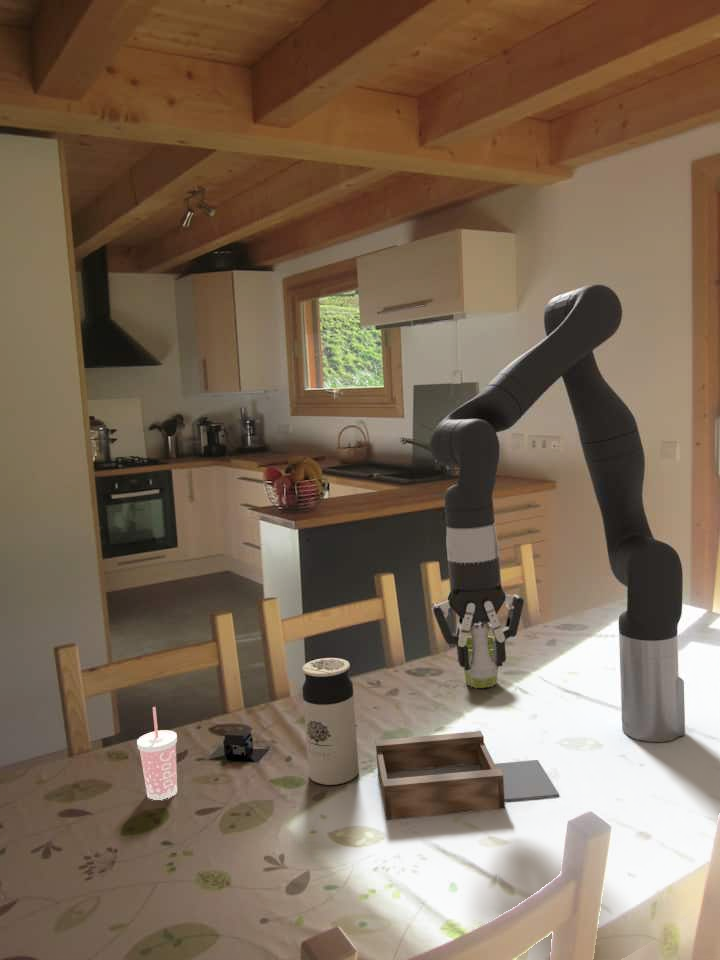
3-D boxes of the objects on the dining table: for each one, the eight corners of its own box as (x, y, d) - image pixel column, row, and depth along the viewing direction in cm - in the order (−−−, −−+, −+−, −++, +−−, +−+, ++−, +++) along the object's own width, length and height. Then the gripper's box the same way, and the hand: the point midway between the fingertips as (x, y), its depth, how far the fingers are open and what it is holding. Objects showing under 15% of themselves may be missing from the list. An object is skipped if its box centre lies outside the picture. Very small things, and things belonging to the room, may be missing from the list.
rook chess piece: (497, 680, 114) (493, 627, 113) (466, 680, 115) (462, 628, 114) (498, 669, 119) (494, 617, 118) (468, 669, 119) (464, 618, 119)
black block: (280, 749, 136) (278, 724, 136) (265, 769, 129) (262, 743, 129) (215, 746, 140) (213, 721, 139) (196, 765, 133) (194, 739, 132)
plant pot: (512, 679, 160) (510, 638, 160) (494, 695, 153) (491, 652, 152) (470, 673, 166) (468, 633, 165) (450, 688, 158) (448, 647, 157)
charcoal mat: (537, 761, 124) (537, 759, 124) (559, 796, 113) (559, 794, 113) (488, 766, 124) (488, 764, 124) (505, 801, 113) (504, 799, 113)
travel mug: (335, 758, 130) (327, 653, 129) (369, 772, 125) (361, 663, 123) (298, 776, 125) (290, 667, 123) (332, 792, 119) (324, 678, 117)
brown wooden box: (482, 760, 126) (480, 731, 125) (505, 808, 111) (503, 775, 111) (377, 770, 125) (375, 740, 125) (386, 820, 110) (383, 786, 110)
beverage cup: (146, 807, 118) (138, 718, 117) (138, 790, 124) (130, 705, 122) (186, 795, 121) (178, 708, 120) (176, 779, 126) (168, 696, 125)
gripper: (514, 544, 119) (522, 653, 121) (421, 554, 118) (431, 663, 120) (527, 554, 111) (536, 670, 113) (428, 565, 111) (439, 681, 113)
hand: (482, 666), depth 117 cm, fingers closed on rook chess piece, 4 cm apart
